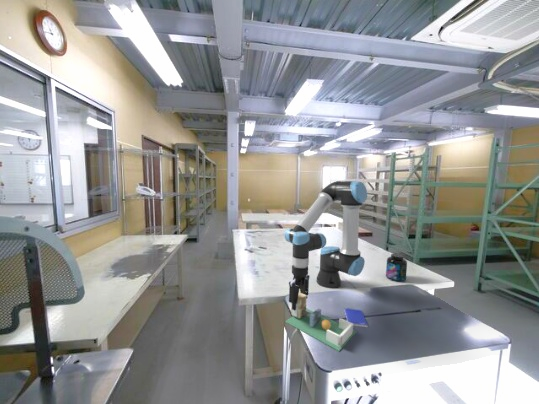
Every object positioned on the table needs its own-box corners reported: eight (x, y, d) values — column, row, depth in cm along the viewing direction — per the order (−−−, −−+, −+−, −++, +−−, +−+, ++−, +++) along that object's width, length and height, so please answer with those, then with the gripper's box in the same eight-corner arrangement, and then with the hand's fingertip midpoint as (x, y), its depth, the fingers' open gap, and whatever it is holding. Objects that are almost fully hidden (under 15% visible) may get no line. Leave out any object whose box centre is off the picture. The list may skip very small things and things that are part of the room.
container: (386, 280, 152) (388, 255, 151) (384, 275, 163) (386, 251, 163) (407, 284, 147) (409, 258, 147) (404, 277, 159) (405, 254, 158)
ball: (324, 325, 102) (324, 316, 102) (332, 329, 99) (332, 320, 99) (319, 329, 99) (319, 320, 99) (327, 333, 96) (328, 324, 96)
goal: (339, 326, 101) (340, 317, 101) (353, 332, 97) (353, 323, 97) (326, 339, 92) (326, 330, 92) (340, 347, 88) (340, 337, 88)
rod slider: (298, 309, 113) (299, 290, 112) (320, 320, 105) (321, 300, 104) (289, 315, 108) (290, 295, 107) (312, 327, 100) (313, 306, 99)
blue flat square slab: (367, 325, 102) (361, 310, 114) (348, 322, 103) (344, 308, 115) (367, 328, 102) (361, 313, 114) (348, 326, 103) (344, 311, 115)
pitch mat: (305, 308, 116) (305, 307, 116) (356, 332, 98) (356, 331, 98) (285, 322, 104) (285, 321, 104) (338, 351, 87) (339, 350, 86)
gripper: (304, 259, 116) (302, 303, 118) (281, 268, 103) (280, 317, 105) (317, 262, 111) (315, 308, 113) (295, 273, 98) (293, 325, 100)
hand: (298, 313), depth 109 cm, fingers closed on rod slider, 5 cm apart
